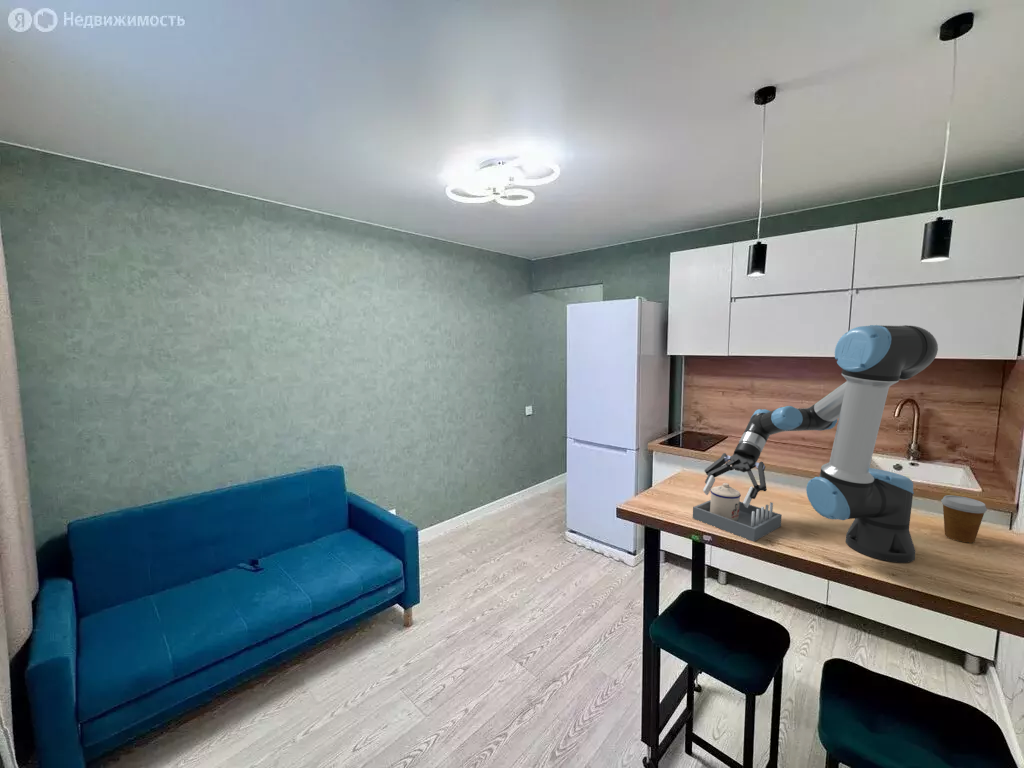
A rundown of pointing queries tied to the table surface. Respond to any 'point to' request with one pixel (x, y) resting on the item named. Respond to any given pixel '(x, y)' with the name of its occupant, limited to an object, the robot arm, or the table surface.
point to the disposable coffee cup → (962, 517)
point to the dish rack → (741, 520)
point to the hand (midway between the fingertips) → (724, 498)
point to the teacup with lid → (725, 501)
